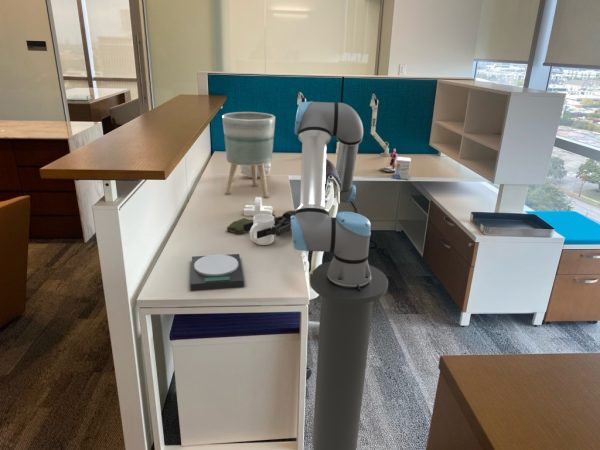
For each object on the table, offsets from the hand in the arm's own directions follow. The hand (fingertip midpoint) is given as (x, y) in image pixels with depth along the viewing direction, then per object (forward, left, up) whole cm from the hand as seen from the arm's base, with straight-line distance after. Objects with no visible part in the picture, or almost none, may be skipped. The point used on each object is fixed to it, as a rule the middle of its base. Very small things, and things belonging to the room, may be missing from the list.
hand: (250, 231), depth 174 cm
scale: (-22, +14, -6) cm, 26 cm away
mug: (+2, -4, -6) cm, 8 cm away
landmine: (+16, 0, -6) cm, 17 cm away
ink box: (+88, -102, -6) cm, 135 cm away
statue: (+102, -100, -6) cm, 143 cm away
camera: (+94, -12, -6) cm, 95 cm away
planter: (+67, -6, -6) cm, 68 cm away
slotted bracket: (+35, -7, -6) cm, 37 cm away
